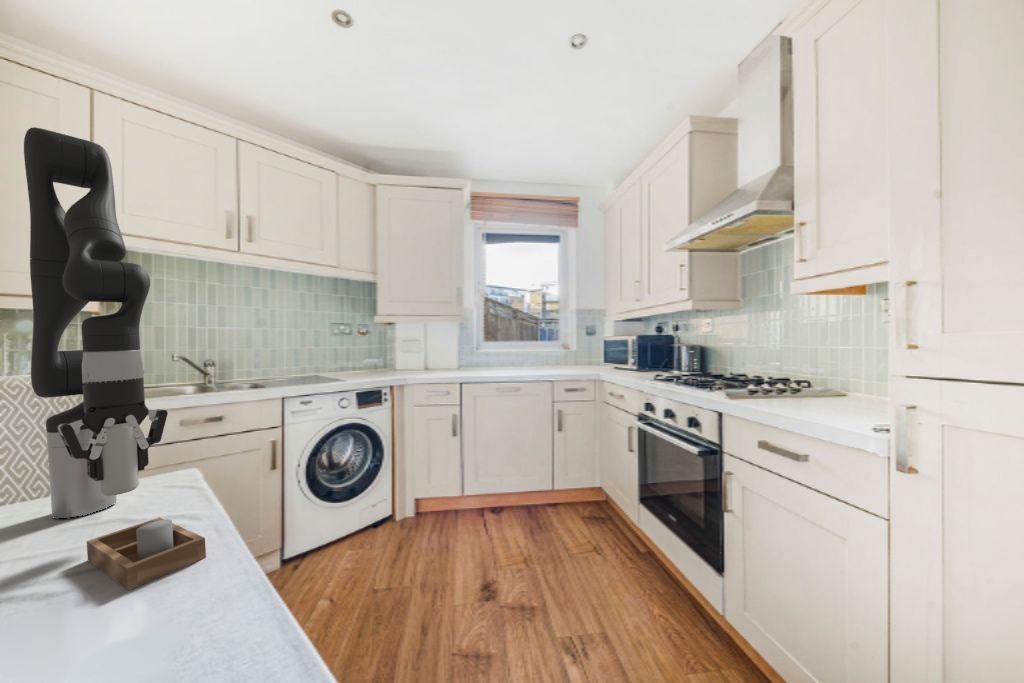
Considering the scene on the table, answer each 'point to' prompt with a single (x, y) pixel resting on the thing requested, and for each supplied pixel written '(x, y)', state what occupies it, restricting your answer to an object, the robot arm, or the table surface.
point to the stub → (154, 538)
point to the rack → (122, 563)
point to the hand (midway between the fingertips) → (119, 474)
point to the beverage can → (119, 460)
